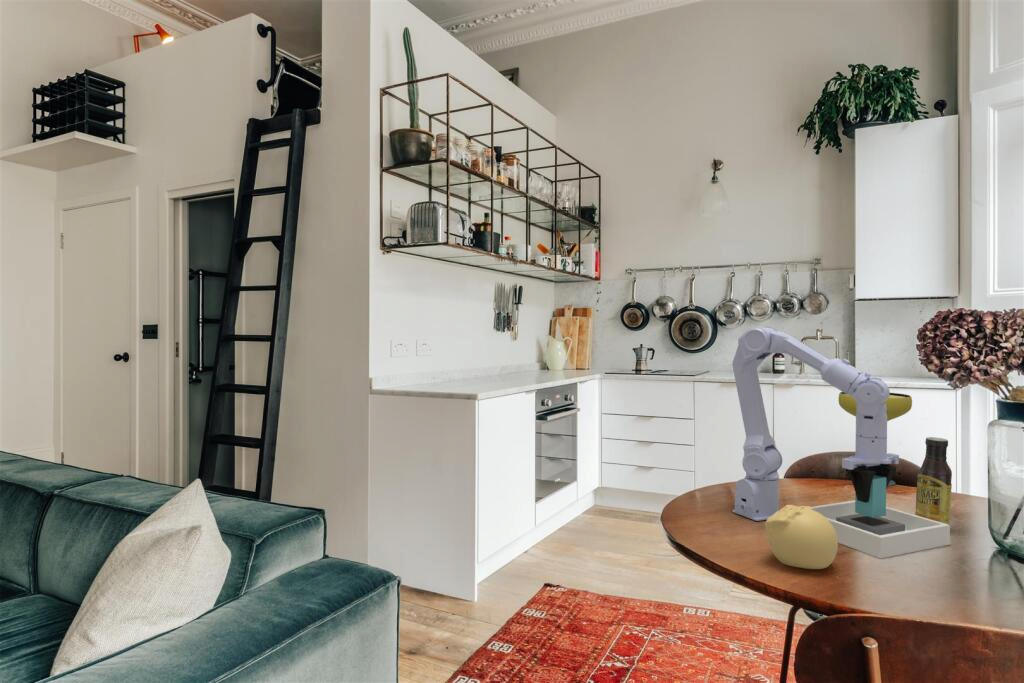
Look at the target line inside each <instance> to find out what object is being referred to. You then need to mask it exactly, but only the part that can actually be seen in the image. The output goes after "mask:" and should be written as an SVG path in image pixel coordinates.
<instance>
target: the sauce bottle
mask: <svg viewBox="0 0 1024 683" xmlns="http://www.w3.org/2000/svg"><path fill="white" fill-rule="evenodd" d="M924 443H925V457H924V459H923V461H922V464H921V466H920V469H919V471H918V473H917V480H916V481H917V482H916V497H915V514H914V515H917V516H920V517H924V518H927V519H931V520H934V521H938V522H941V523H945V524H948V525H950V520H951V519H950V518H951V508H952V507H951V506H952V486H953V484H952V474H953V472H952V469H951V467H950V465H949V463H948V461H947V449H948V446H949V440H948V439H945V438H941V437H935V436H934V437H933V436H928V437H926V438H925V442H924Z"/></svg>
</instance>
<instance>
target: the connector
mask: <svg viewBox="0 0 1024 683" xmlns="http://www.w3.org/2000/svg"><path fill="white" fill-rule="evenodd" d="M854 493H855V492H854ZM854 496H855V497H854V498H855V513H859V514H862V515H865V516H868V517H872V518H874V517H880V516H886V507H887V490H886V477H882V476H878V475H874V477H873V479H872V482H871V487H870V497H869V501H868V502H867V503H865V502H862V501H858V500H857V497H856V493H855V495H854Z"/></svg>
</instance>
